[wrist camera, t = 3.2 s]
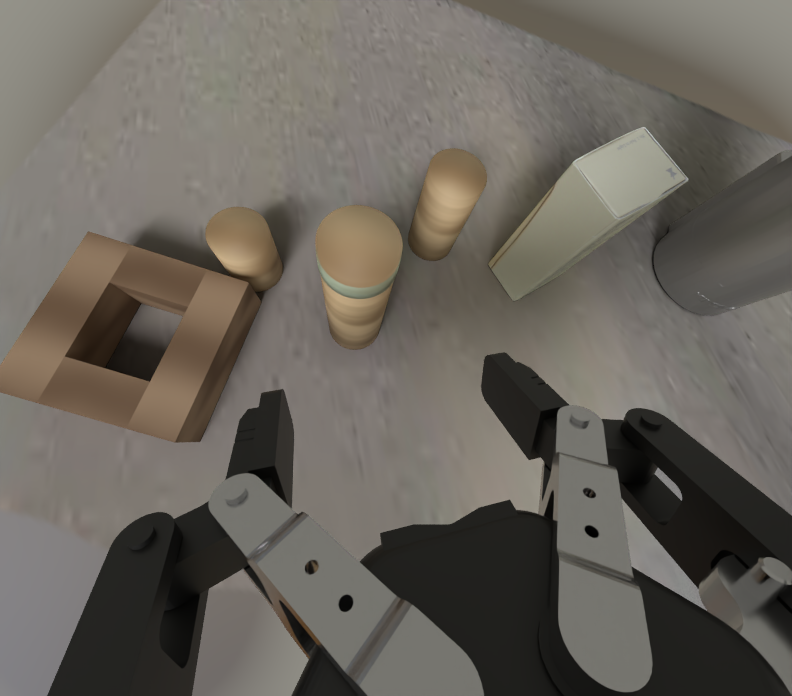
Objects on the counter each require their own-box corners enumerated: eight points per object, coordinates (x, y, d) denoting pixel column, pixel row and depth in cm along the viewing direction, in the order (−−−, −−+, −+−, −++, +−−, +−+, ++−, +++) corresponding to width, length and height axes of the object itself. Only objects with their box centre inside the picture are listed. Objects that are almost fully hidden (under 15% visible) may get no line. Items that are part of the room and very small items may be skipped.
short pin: (243, 240, 27) (221, 199, 23) (290, 256, 28) (278, 218, 23) (222, 282, 26) (194, 248, 22) (271, 298, 27) (255, 267, 22)
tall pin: (338, 295, 27) (331, 192, 16) (386, 311, 28) (413, 220, 16) (321, 341, 26) (301, 265, 15) (371, 356, 26) (389, 294, 15)
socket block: (122, 258, 26) (88, 231, 22) (261, 302, 26) (248, 282, 23) (39, 395, 22) (-15, 388, 19) (199, 441, 23) (174, 442, 20)
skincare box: (535, 237, 32) (645, 121, 20) (563, 275, 31) (694, 178, 19) (484, 265, 30) (570, 156, 18) (512, 306, 29) (620, 219, 18)
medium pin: (414, 215, 30) (437, 140, 23) (456, 229, 31) (492, 160, 23) (402, 252, 29) (422, 186, 22) (445, 266, 29) (480, 206, 22)
